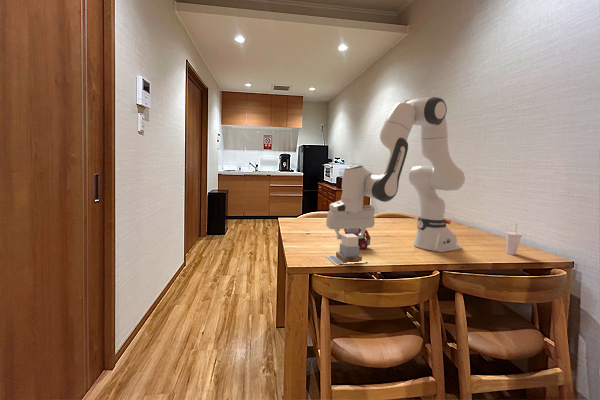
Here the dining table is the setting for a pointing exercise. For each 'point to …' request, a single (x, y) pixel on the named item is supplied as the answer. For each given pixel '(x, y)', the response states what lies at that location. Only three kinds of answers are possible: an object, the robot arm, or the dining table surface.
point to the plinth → (348, 258)
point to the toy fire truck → (361, 241)
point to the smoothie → (512, 241)
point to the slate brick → (349, 251)
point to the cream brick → (349, 240)
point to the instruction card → (334, 259)
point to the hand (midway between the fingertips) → (349, 238)
